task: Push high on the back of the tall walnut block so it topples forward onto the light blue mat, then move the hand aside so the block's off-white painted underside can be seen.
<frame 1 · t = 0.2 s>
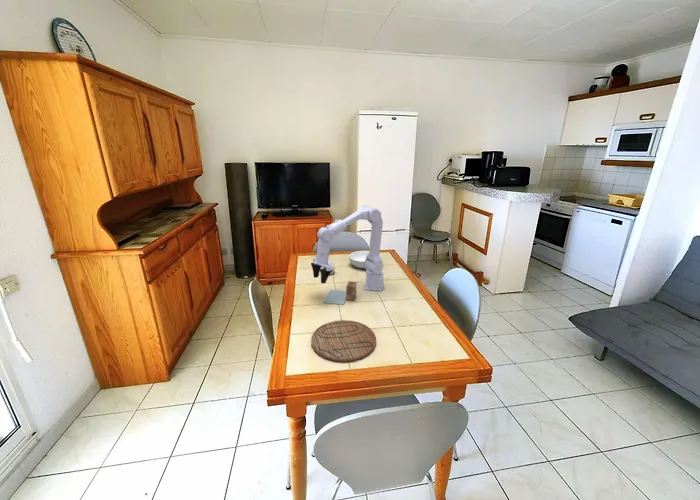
hand: (319, 280, 145), 11 cm above the table, tool pointing down, fingers open, 7 cm apart
trivet: (343, 342, 117), on the table
serving bowl: (365, 266, 193), on the table
die: (328, 273, 181), on the table
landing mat: (336, 297, 152), on the table
block: (351, 298, 150), on the table
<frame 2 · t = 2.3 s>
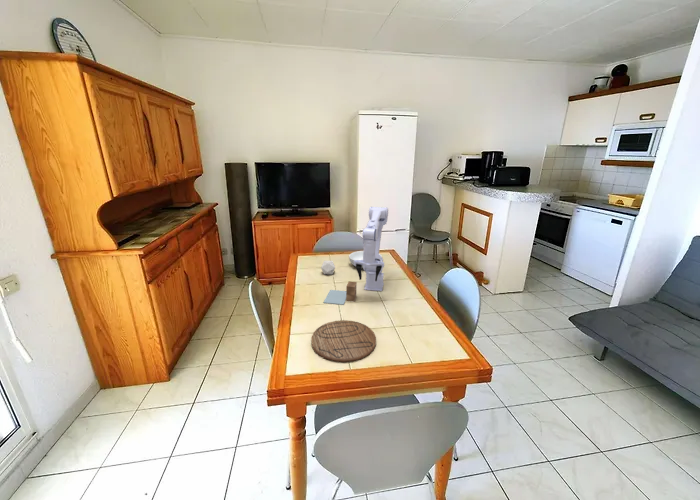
hand: (368, 279, 147), 10 cm above the table, tool pointing down, fingers open, 7 cm apart
nothing on the table moved.
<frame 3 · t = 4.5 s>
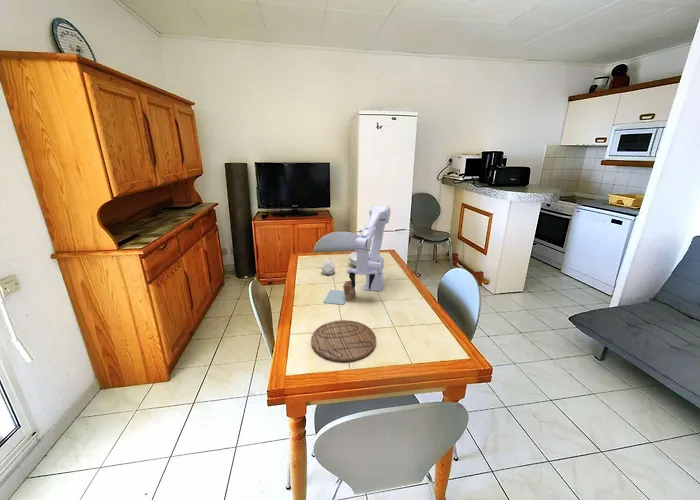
hand: (361, 287, 147), 6 cm above the table, tool pointing down, fingers open, 7 cm apart
block: (351, 298, 150), on the table, tilted 11°
everything else where it was.
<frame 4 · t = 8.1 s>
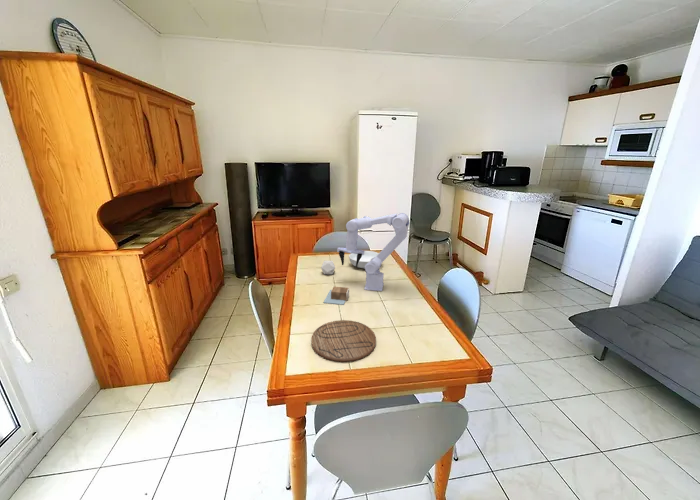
hand: (349, 265, 164), 11 cm above the table, tool pointing down, fingers open, 7 cm apart
block: (348, 294, 150), point 2 cm above the table, tilted 90°, touching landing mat
everything else where it was.
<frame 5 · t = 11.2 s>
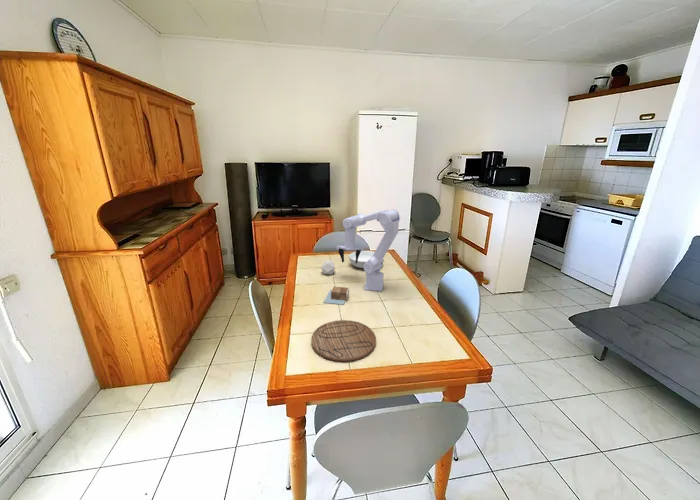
hand: (349, 262, 169), 10 cm above the table, tool pointing down, fingers open, 7 cm apart
nothing on the table moved.
at the end: block tilted 90°; block inside the target area on the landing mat (0.9 cm from its centre), point 2.4 cm above the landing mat's base; block touching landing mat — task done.
